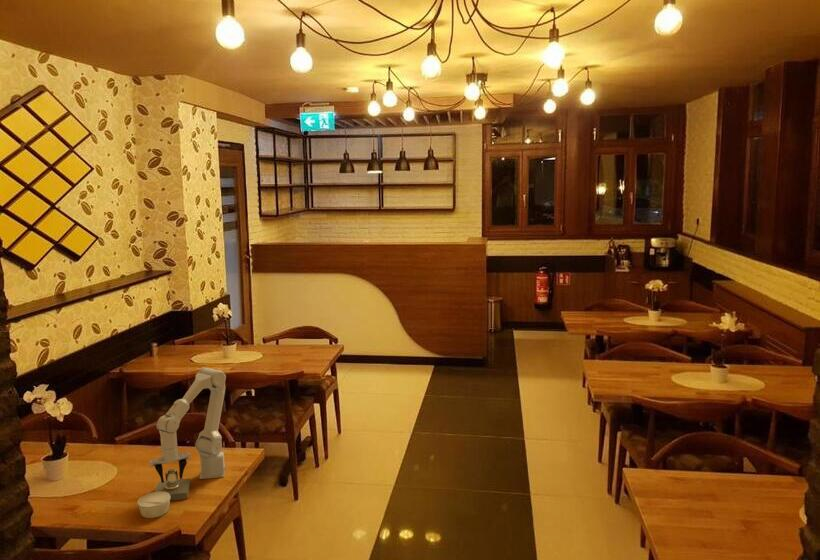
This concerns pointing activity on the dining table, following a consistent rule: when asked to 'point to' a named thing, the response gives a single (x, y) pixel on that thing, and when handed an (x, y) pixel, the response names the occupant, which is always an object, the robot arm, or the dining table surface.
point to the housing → (171, 479)
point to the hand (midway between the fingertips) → (171, 480)
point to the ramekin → (154, 504)
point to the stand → (178, 492)
